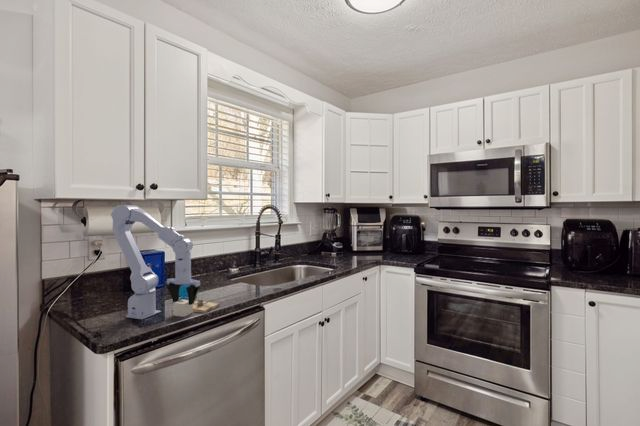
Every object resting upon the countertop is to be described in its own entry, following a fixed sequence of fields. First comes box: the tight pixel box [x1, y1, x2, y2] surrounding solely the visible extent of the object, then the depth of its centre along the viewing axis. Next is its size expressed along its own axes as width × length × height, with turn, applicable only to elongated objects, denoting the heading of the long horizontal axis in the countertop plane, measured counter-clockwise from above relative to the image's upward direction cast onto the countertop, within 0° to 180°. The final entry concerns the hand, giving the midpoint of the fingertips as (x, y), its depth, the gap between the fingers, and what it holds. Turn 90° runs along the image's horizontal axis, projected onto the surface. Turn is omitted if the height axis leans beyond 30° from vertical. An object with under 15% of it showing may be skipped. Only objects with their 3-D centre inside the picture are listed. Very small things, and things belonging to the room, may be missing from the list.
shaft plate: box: [193, 298, 221, 314], centre depth 138 cm, size 10×12×4 cm
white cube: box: [173, 298, 194, 318], centre depth 130 cm, size 5×5×5 cm
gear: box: [179, 285, 199, 300], centre depth 153 cm, size 11×6×10 cm
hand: (183, 303), depth 130 cm, fingers open, 7 cm apart
